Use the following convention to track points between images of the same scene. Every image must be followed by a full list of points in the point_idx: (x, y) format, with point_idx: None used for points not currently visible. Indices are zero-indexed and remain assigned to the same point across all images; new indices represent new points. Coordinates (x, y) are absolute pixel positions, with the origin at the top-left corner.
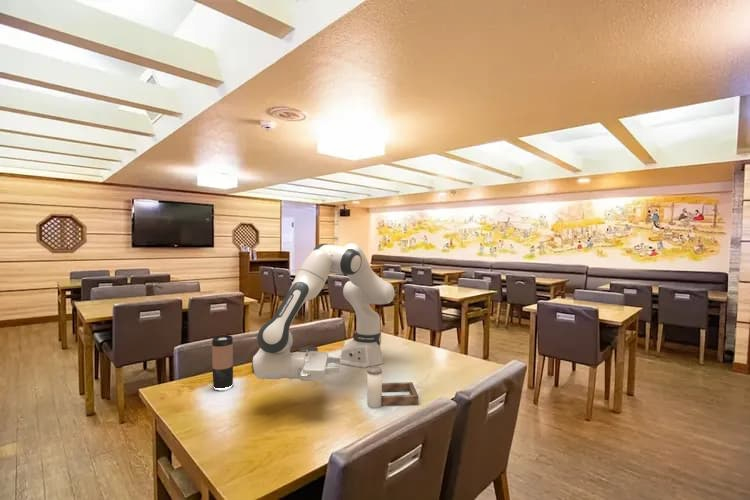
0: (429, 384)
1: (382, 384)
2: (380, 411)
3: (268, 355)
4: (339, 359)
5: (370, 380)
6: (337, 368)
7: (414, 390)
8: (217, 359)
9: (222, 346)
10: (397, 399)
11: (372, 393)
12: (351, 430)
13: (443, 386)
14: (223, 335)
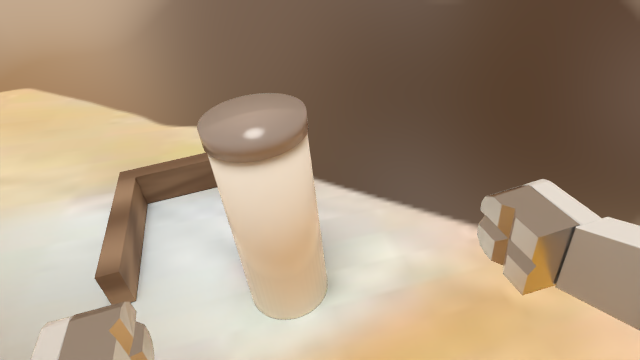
0: (94, 167)
1: (121, 259)
2: (352, 250)
3: None
4: (128, 308)
5: (308, 177)
6: (558, 199)
7: (207, 155)
8: None
9: None
10: None
11: (319, 230)
12: (598, 311)
13: (123, 140)
14: None
